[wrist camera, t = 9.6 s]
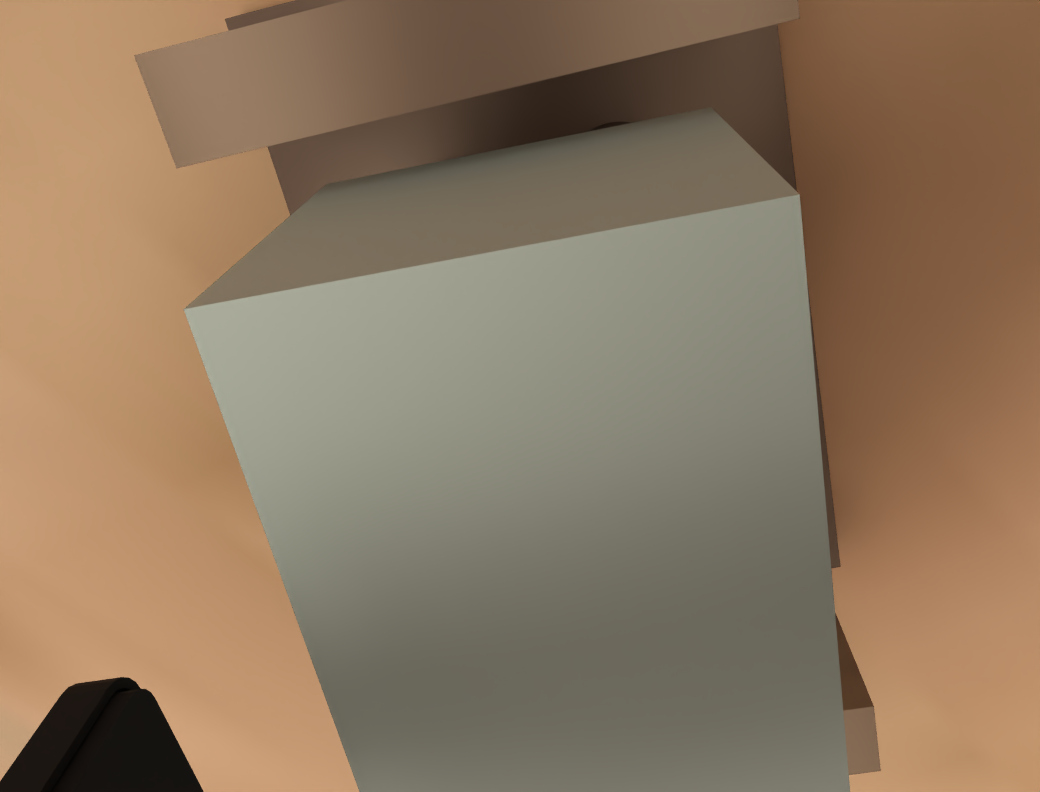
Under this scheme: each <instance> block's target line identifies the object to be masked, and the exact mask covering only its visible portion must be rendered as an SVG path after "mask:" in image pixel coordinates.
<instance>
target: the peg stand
mask: <svg viewBox="0 0 1040 792" xmlns="http://www.w3.org/2000/svg"><path fill="white" fill-rule="evenodd" d="M796 19H800V14H799V5H798V0H295V1H292V2H288V3H284V4H280V5H276V6H273V7H269V8H265V9H261V10H257V11H253V12H250V13H246V14H242V15H238V16H234V17H231V18H227V19H225V21H226V24H227V27H228V30H229V31H226V32H222V33H219V34H215V35H211V36H207V37H203V38H199V39H195V40H192V41H188V42H184V43H180V44H176V45H172V46H169V47H165V48H161V49H157V50H153V51H149V52H145V53H142V54H138V55H134V56H135V59H136V61H137V64H138V67H139V69H140V72H141V75H142V77H143V80H144V83H145V85H146V88H147V91H148V93H149V96H150V99H151V101H152V104H153V107H154V109H155V112H156V115H157V117H158V120H159V123H160V125H161V128H162V131H163V133H164V136H165V139H166V141H167V144H168V147H169V149H170V152H171V155H172V157H173V160H174V163H175V165H176V168H180V167H184V166H189V165H193V164H197V163H201V162H205V161H209V160H214V159H218V158H222V157H226V156H230V155H234V154H238V153H243V152H247V151H251V150H255V149H259V148H263V147H268V149H269V152H270V155H271V158H272V161H273V164H274V167H275V170H276V173H277V176H278V179H279V182H280V185H281V188H282V191H283V194H284V197H285V200H286V203H287V206H288V209H289V212H290V215H292V214H293V213H294V212H295V211H296V210H297V209H299V208H300V207H301V206H302V205H303V204H304V203H305V202H307V201H308V200H309V199H310V198H311V197H312V196H313V195H315V194H316V193H317V192H318V191H319V190H320V189H321V188H323V187H324V186H325V185H326V184H329V183H334V182H339V181H344V180H349V179H354V178H359V177H364V176H369V175H374V174H379V173H384V172H389V171H394V170H399V169H404V168H409V167H414V166H419V165H424V164H429V163H434V162H439V161H444V160H449V159H454V158H459V157H464V156H469V155H474V154H479V153H484V152H489V151H494V150H499V149H504V148H509V147H514V146H519V145H524V144H529V143H534V142H539V141H544V140H549V139H554V138H559V137H564V136H569V135H574V134H579V133H584V132H589V131H594V130H599V129H604V128H609V127H614V126H619V125H624V124H629V123H634V122H639V121H644V120H649V119H654V118H659V117H664V116H669V115H674V114H679V113H684V112H689V111H694V110H699V109H704V108H709V107H711V108H712V109H713V110H714V111H715V112H716V113H717V114H718V115H719V116H720V117H721V118H722V119H723V120H724V121H726V122H727V123H728V124H729V125H730V126H731V127H732V128H733V129H734V130H735V131H736V132H737V133H738V134H739V135H740V136H741V137H742V138H743V139H744V140H745V141H746V142H747V143H748V144H749V145H750V146H751V147H752V148H753V149H754V150H755V151H756V152H757V153H758V154H759V155H760V156H761V157H762V158H763V159H764V160H765V161H766V162H767V163H768V164H769V165H770V166H771V167H772V168H773V169H774V170H775V171H776V172H777V173H778V174H779V175H780V176H781V177H782V178H783V179H785V180H786V181H787V182H788V183H789V184H790V185H791V186H792V187H793V188H794V189H795V190H796V191H797V189H796V181H795V172H794V163H793V155H792V146H791V138H790V129H789V121H788V112H787V103H786V95H785V86H784V78H783V69H782V60H781V52H780V43H779V35H778V26H777V24H779V23H783V22H787V21H792V20H796ZM807 286H808V284H807ZM808 298H809V292H808ZM809 310H810V322H811V334H812V346H813V357H814V369H815V381H816V393H817V405H818V417H819V429H820V440H821V452H822V464H823V476H824V488H825V500H826V512H827V523H828V535H829V547H830V559H831V568H836V567H840V558H839V550H838V541H837V533H836V524H835V515H834V507H833V498H832V490H831V481H830V472H829V464H828V455H827V447H826V438H825V430H824V421H823V412H822V404H821V395H820V387H819V378H818V369H817V361H816V352H815V344H814V335H813V327H812V318H811V309H810V301H809ZM835 618H836V630H837V642H838V654H839V666H840V678H841V690H842V701H843V713H844V725H845V737H846V749H847V761H848V773H849V775H853V774H861V773H868V772H876V771H881V769H880V760H879V751H878V741H877V732H876V723H875V713H874V706H873V703H872V701H871V698H870V696H869V694H868V691H867V689H866V686H865V684H864V681H863V679H862V677H861V674H860V672H859V669H858V667H857V664H856V662H855V660H854V657H853V655H852V652H851V650H850V647H849V645H848V642H847V640H846V638H845V635H844V633H843V630H842V628H841V625H840V623H839V621H838V618H837V616H836V613H835Z"/></svg>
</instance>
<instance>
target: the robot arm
mask: <svg viewBox="0 0 1040 792" xmlns="http://www.w3.org/2000/svg"><path fill="white" fill-rule="evenodd" d="M0 792H203V790H202V788H201V786H200V784H199V782H198V780H197V778H196V776H195V774H194V772H193V770H192V768H191V767H190V765H189V763H188V761H187V759H186V757H185V755H184V753H183V751H182V749H181V747H180V745H179V743H178V741H177V740H176V738H175V736H174V734H173V732H172V730H171V728H170V726H169V724H168V722H167V720H166V718H165V716H164V714H163V713H162V711H161V709H160V707H159V705H158V703H157V701H156V699H155V697H154V696H153V695H152V693H151V692H149V691H148V690H146V689H140V687H139V686H138V684H137V683H136V682H135V681H133V680H132V679H130V678H124V677H120V678H113V679H106V680H99V681H92V682H85V683H78V684H75V685H72V686H70V687H68V688H67V689H66V690H65V691H64V692H63V694H62V695H61V696H60V697H59V699H58V700H57V702H56V703H55V704H54V706H53V707H52V709H51V710H50V711H49V713H48V714H47V716H46V717H45V719H44V720H43V721H42V723H41V724H40V726H39V727H38V729H37V730H36V731H35V733H34V734H33V736H32V737H31V738H30V740H29V741H28V743H27V744H26V746H25V747H24V748H23V750H22V751H21V753H20V754H19V755H18V757H17V758H16V760H15V761H14V763H13V764H12V765H11V767H10V768H9V770H8V771H7V773H6V774H5V775H4V777H3V778H2V780H1V781H0Z"/></svg>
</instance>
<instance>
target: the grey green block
mask: <svg viewBox="0 0 1040 792" xmlns="http://www.w3.org/2000/svg"><path fill="white" fill-rule="evenodd" d="M184 311H185V314H186V317H187V320H188V322H189V325H190V328H191V331H192V333H193V336H194V339H195V342H196V344H197V347H198V350H199V353H200V355H201V358H202V361H203V363H204V366H205V369H206V372H207V374H208V377H209V380H210V383H211V385H212V388H213V391H214V394H215V396H216V399H217V402H218V405H219V407H220V410H221V413H222V416H223V418H224V421H225V424H226V427H227V429H228V432H229V435H230V438H231V440H232V443H233V446H234V449H235V451H236V454H237V457H238V460H239V462H240V465H241V468H242V470H243V473H244V476H245V479H246V481H247V484H248V487H249V490H250V492H251V495H252V498H253V501H254V503H255V506H256V509H257V512H258V514H259V517H260V520H261V523H262V525H263V528H264V531H265V534H266V536H267V539H268V542H269V545H270V547H271V550H272V553H273V556H274V558H275V561H276V564H277V567H278V569H279V572H280V575H281V577H282V580H283V583H284V586H285V588H286V591H287V594H288V597H289V599H290V602H291V605H292V608H293V610H294V613H295V616H296V619H297V621H298V624H299V627H300V630H301V632H302V635H303V638H304V641H305V643H306V646H307V649H308V652H309V654H310V657H311V660H312V663H313V665H314V668H315V671H316V674H317V676H318V679H319V682H320V684H321V687H322V690H323V693H324V695H325V698H326V701H327V704H328V706H329V709H330V712H331V715H332V717H333V720H334V723H335V726H336V728H337V731H338V734H339V737H340V739H341V742H342V745H343V748H344V750H345V753H346V756H347V759H348V761H349V764H350V767H351V770H352V772H353V775H354V778H355V781H356V783H357V786H358V789H359V791H360V792H850V784H849V773H848V761H847V749H846V737H845V725H844V713H843V701H842V690H841V678H840V666H839V654H838V642H837V630H836V618H835V607H834V595H833V583H832V571H831V559H830V547H829V535H828V523H827V512H826V500H825V488H824V476H823V464H822V452H821V440H820V429H819V417H818V405H817V393H816V381H815V369H814V357H813V346H812V334H811V322H810V310H809V298H808V286H807V274H806V263H805V251H804V239H803V227H802V215H801V203H800V194H799V193H798V192H797V191H796V190H795V189H794V188H793V187H792V186H791V185H790V184H789V183H788V182H787V181H786V180H785V179H783V178H782V177H781V176H780V175H779V174H778V173H777V172H776V171H775V170H774V169H773V168H772V167H771V166H770V165H769V164H768V163H767V162H766V161H765V160H764V159H763V158H762V157H761V156H760V155H759V154H758V153H757V152H756V151H755V150H754V149H753V148H752V147H751V146H750V145H749V144H748V143H747V142H746V141H745V140H744V139H743V138H742V137H741V136H740V135H739V134H738V133H737V132H736V131H735V130H734V129H733V128H732V127H731V126H730V125H729V124H728V123H727V122H726V121H724V120H723V119H722V118H721V117H720V116H719V115H718V114H717V113H716V112H715V111H714V110H713V109H712V108H711V107H709V108H704V109H699V110H694V111H689V112H684V113H679V114H674V115H669V116H664V117H659V118H654V119H649V120H644V121H639V122H634V123H629V124H624V125H619V126H614V127H609V128H604V129H599V130H594V131H589V132H584V133H579V134H574V135H569V136H564V137H559V138H554V139H549V140H544V141H539V142H534V143H529V144H524V145H519V146H514V147H509V148H504V149H499V150H494V151H489V152H484V153H479V154H474V155H469V156H464V157H459V158H454V159H449V160H444V161H439V162H434V163H429V164H424V165H419V166H414V167H409V168H404V169H399V170H394V171H389V172H384V173H379V174H374V175H369V176H364V177H359V178H354V179H349V180H344V181H339V182H334V183H329V184H326V185H325V186H324V187H323V188H321V189H320V190H319V191H318V192H317V193H316V194H315V195H313V196H312V197H311V198H310V199H309V200H308V201H307V202H305V203H304V204H303V205H302V206H301V207H300V208H299V209H297V210H296V211H295V212H294V213H293V214H292V215H291V216H289V217H288V218H287V219H286V220H285V221H284V222H283V223H281V224H280V225H279V226H278V227H277V228H276V229H275V230H274V231H272V232H271V233H270V234H269V235H268V236H267V237H266V238H264V239H263V240H262V241H261V242H260V243H259V244H258V245H256V246H255V247H254V248H253V249H252V250H251V251H250V252H248V253H247V254H246V255H245V256H244V257H243V258H242V259H240V260H239V261H238V262H237V263H236V264H235V265H234V266H232V267H231V268H230V269H229V270H228V271H227V272H226V273H224V274H223V275H222V276H221V277H220V278H219V279H218V280H217V281H215V282H214V283H213V284H212V285H211V286H210V287H209V288H207V289H206V290H205V291H204V292H203V293H202V294H201V295H199V296H198V297H197V298H196V299H195V300H194V301H193V302H191V303H190V304H189V305H188V306H187V307H186V308H185V309H184Z"/></svg>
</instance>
